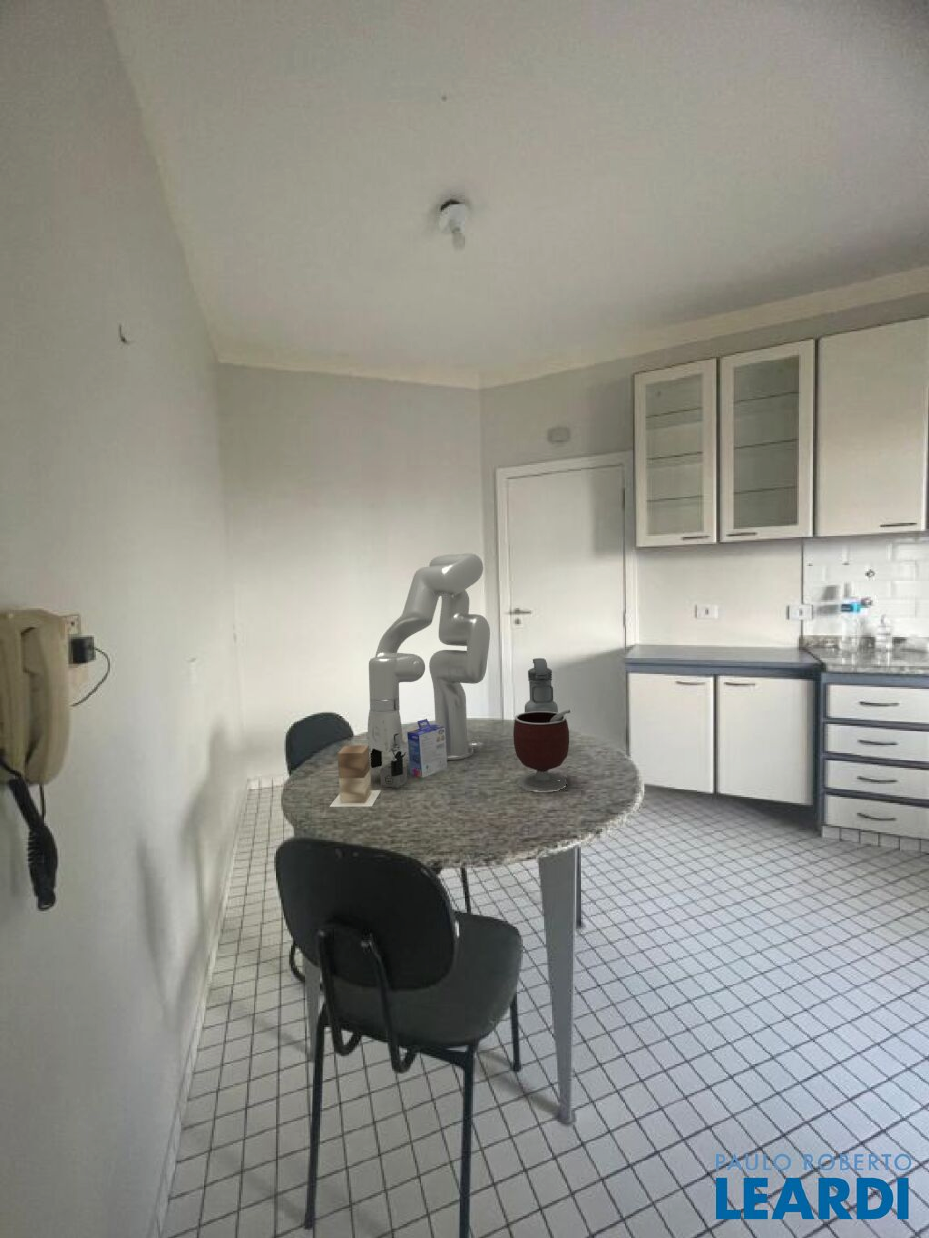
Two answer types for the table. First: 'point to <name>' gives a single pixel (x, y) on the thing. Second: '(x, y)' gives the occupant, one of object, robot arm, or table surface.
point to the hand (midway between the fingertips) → (386, 770)
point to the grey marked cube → (390, 780)
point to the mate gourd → (541, 747)
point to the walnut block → (353, 761)
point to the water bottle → (540, 688)
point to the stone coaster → (368, 803)
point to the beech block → (355, 789)
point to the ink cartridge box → (427, 749)
